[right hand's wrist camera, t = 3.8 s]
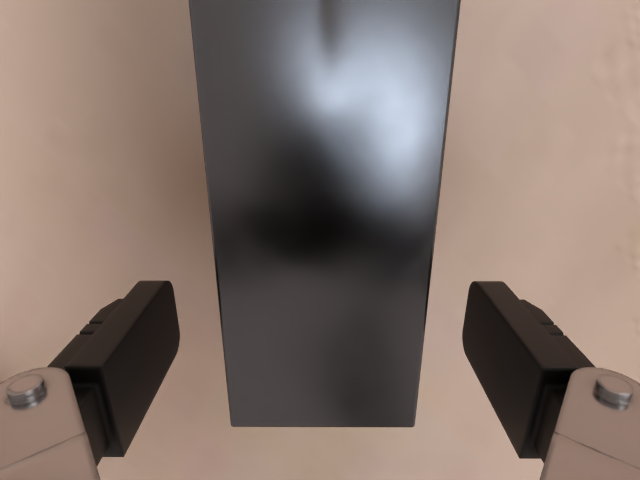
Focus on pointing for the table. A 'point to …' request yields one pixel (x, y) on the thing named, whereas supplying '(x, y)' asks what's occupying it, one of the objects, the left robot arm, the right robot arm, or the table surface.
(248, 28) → the bar
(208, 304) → the table surface
